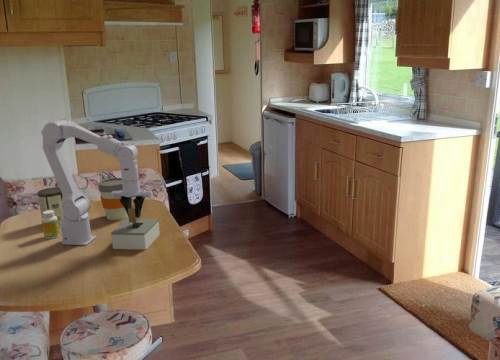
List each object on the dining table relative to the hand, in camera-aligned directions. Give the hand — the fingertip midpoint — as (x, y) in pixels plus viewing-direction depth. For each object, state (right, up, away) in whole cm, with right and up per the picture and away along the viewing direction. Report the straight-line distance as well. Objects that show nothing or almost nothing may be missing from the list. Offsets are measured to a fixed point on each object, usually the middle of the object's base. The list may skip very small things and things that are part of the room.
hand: (134, 216), depth 171 cm
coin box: (0, -9, +2) cm, 9 cm away
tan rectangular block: (0, -1, 0) cm, 1 cm away
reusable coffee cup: (-14, -2, +30) cm, 34 cm away
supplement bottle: (-34, -8, +11) cm, 36 cm away
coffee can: (-37, -5, +24) cm, 45 cm away
